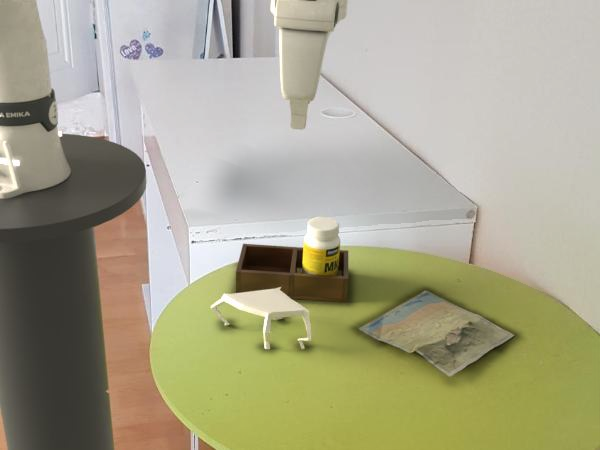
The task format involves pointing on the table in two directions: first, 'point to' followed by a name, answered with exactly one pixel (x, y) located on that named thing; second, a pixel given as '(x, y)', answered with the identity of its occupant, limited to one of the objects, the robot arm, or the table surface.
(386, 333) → the topographic map
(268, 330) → the origami figure
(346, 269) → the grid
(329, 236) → the supplement bottle
